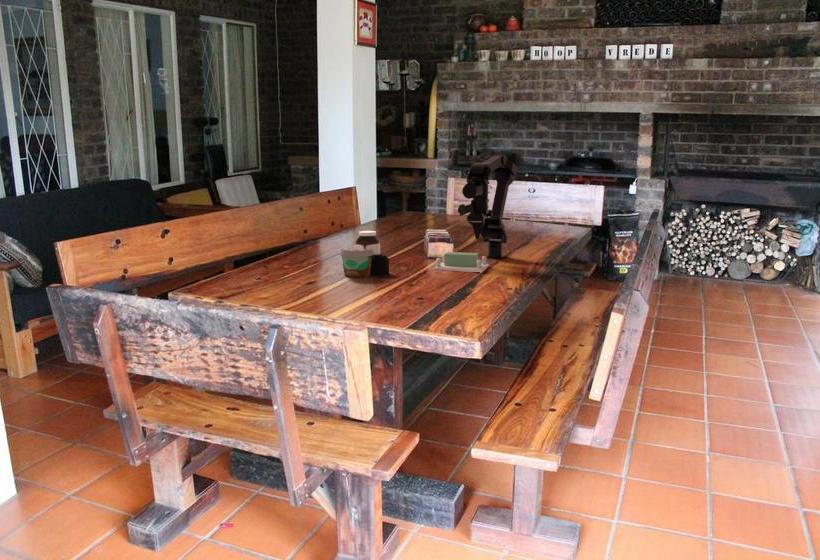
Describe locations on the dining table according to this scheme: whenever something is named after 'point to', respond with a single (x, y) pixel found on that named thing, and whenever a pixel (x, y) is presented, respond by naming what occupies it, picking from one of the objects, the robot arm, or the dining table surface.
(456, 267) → the plate
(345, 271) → the food container
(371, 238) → the spread jar
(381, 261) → the film camera
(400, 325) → the dining table surface
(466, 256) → the green board
